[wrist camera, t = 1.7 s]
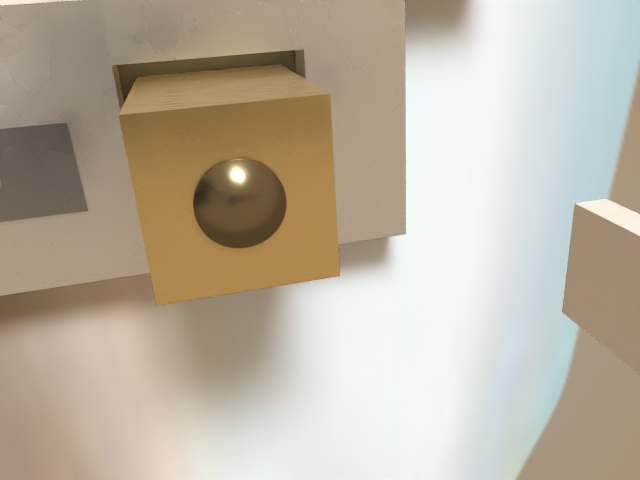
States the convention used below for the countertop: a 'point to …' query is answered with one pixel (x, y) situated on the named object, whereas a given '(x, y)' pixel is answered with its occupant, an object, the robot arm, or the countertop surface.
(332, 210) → the cube with dome knob
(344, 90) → the beige panel with cutout
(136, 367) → the countertop surface
